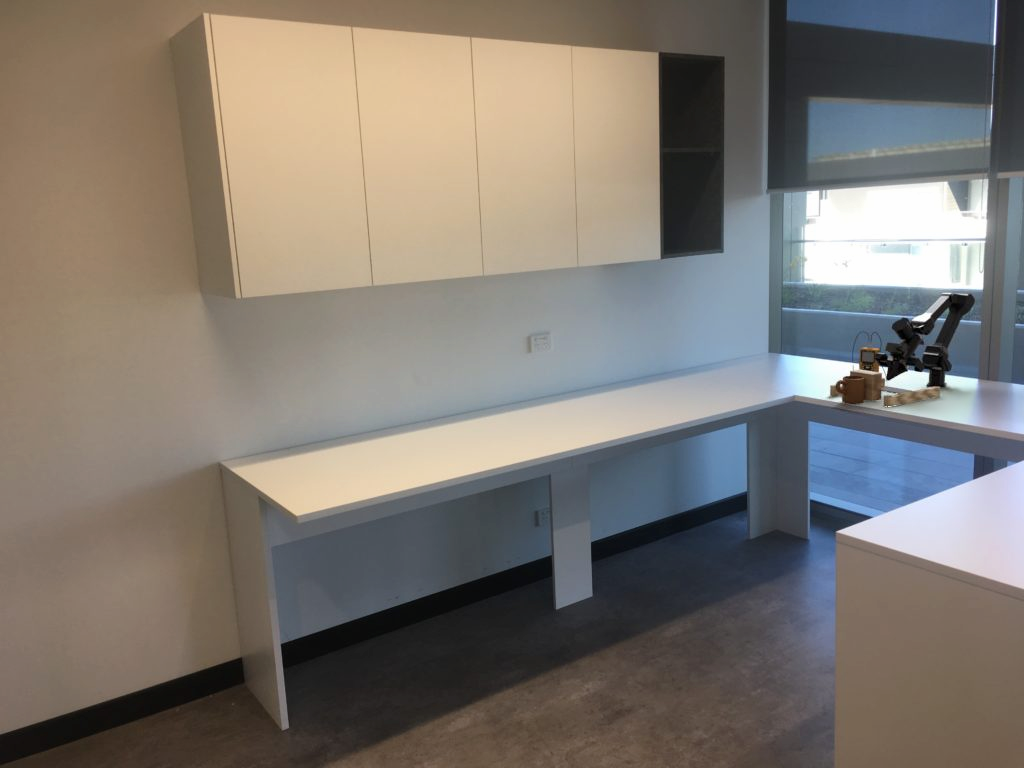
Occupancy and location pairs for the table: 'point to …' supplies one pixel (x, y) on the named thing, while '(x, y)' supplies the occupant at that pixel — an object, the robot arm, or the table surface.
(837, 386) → the mug
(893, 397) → the channel
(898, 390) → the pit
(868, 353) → the multimeter
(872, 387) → the wooden block
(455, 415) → the table surface
